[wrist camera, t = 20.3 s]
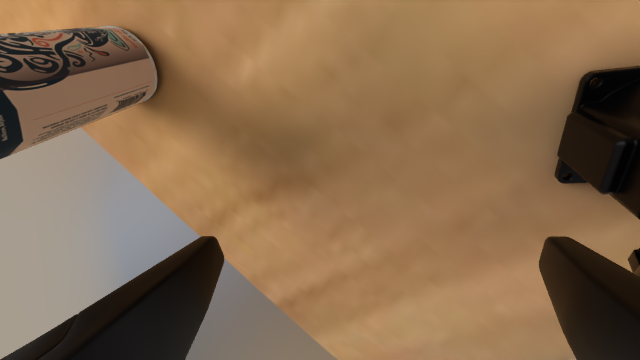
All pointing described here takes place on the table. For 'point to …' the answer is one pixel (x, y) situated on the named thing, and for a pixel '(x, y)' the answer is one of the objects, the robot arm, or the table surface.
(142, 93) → the beer can
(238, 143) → the table surface
